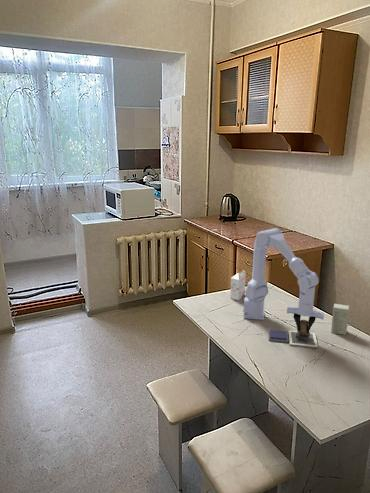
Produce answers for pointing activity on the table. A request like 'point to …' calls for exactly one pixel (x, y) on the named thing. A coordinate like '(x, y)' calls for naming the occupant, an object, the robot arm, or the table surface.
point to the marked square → (300, 342)
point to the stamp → (303, 330)
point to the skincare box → (340, 319)
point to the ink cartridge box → (238, 286)
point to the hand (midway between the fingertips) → (303, 331)
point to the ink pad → (278, 336)
